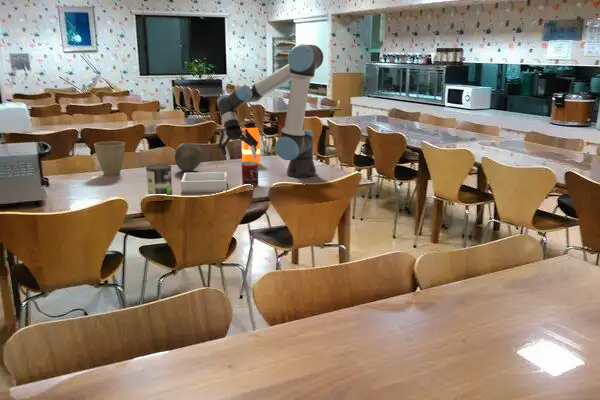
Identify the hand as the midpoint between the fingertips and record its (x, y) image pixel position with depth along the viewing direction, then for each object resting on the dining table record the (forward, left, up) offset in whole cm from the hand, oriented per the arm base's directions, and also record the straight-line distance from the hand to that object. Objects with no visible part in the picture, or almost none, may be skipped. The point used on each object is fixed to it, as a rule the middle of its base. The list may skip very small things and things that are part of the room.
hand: (242, 158), depth 255 cm
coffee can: (+36, +26, -12) cm, 45 cm away
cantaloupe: (+28, -26, -12) cm, 40 cm away
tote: (+18, +8, -12) cm, 22 cm away
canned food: (-3, +7, -12) cm, 14 cm away
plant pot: (+66, -23, -12) cm, 71 cm away
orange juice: (-5, -44, -12) cm, 46 cm away
